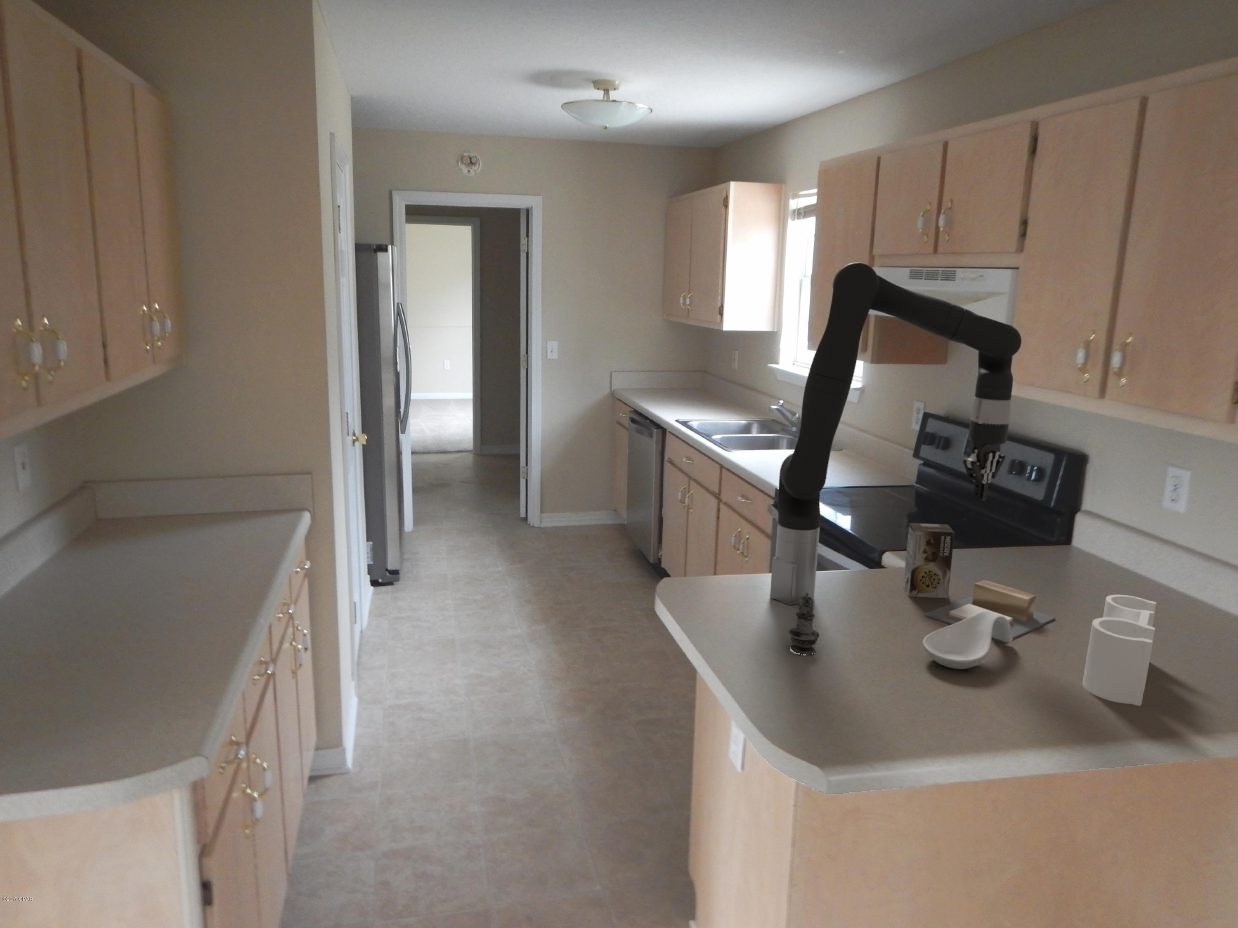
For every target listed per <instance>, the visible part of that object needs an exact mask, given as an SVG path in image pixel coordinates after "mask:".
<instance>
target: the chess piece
mask: <svg viewBox="0 0 1238 928" xmlns="http://www.w3.org/2000/svg"><path fill="white" fill-rule="evenodd" d="M805 595H806V596H804V597H801V598H800V600H799V604H798V611H797V612H796V613H795V615H796V617H797V618H796V625H795V627H792V628H791V629H789V630H788V634H789V639H790V641H791V642H792V645H790V646H791V649H792V650H793V651H794V652H796V653H800V655H801V654H802V655H803V654H806V655H812V653H813V654H814V653H816V654H817V649H816V648H814V647H813V646H815V644H816V643H817V642H818V638H819V637H820V633H819V632H818V631H817V630H815V629H814V628H813V623H814V621H813V620H814V618H815V617H816V616H815V614H814V604H815V601H814V600H813V599H812V598H810V597H809V596H808V595H809V594H808V593H806V594H805ZM800 655H799V656H800ZM814 655H815V654H814ZM812 656H813V655H812Z"/></svg>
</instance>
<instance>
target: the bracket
mask: <svg viewBox="0 0 1238 928" xmlns="http://www.w3.org/2000/svg"><path fill="white" fill-rule="evenodd" d="M1156 608H1157V602H1156V601H1153V600H1148V599H1145V598H1141V597H1139V596H1138V597H1137V596H1132V595H1127V594H1110V595H1108V596H1106V597H1105V604H1104V609H1103V616H1102V617H1097V618H1094V619H1093V620H1092V623H1091V629H1090V634H1089V641H1088V647H1087V653H1086V660H1085V666H1084V672H1083V678H1082V686H1083V688H1084V689H1085V690H1086V691H1087V692H1088V693H1090V694H1092V695H1093V696H1096V697H1098V698H1100V699H1104V700H1106V701H1111V702H1113V703H1119V704H1120V703H1121V704H1126V705H1127V704H1128V705H1129V704H1130V705H1131V704H1132V705H1134V706H1141V705H1142V703H1143V697H1144V691H1145V688H1146V684H1147V678H1148V672H1149V666H1150V661H1151V656H1152V655H1151V654H1152V651H1153V649H1152V648H1153V643H1154V639H1155V638H1154V637H1155V632H1156V628H1155V627H1154V625H1153V624H1154V620H1155V615H1156Z"/></svg>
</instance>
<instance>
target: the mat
mask: <svg viewBox="0 0 1238 928" xmlns="http://www.w3.org/2000/svg"><path fill="white" fill-rule="evenodd" d="M972 602H973V595H970V596H968V597H967V596H966V597H965V598H962V599H960V600H957V601H955V602H952V603H949V604H946V605H944V606H941V607H939V608H936V609H933V610H932V611H928V612H926V613H924V614H925V616H926V617H929V618H932V619H934V620H937V621H940V622H943V623H945V624H949V625H952V624H955V623H957V622H960V620H957V619H954V618H951V617H949V612H950V611H952V610H955V609H957V608H960V607H962V606H965V605H967V604H971V605H973V604H972ZM974 606H976V605H974ZM978 607H979V606H978ZM981 608H982V607H981ZM984 609H985V608H984ZM987 610H988V609H987ZM990 611H991V610H990ZM993 612H994V611H993ZM996 613H997V612H996ZM999 614H1000V613H999ZM1002 615H1003V614H1002ZM1005 616H1006V615H1005ZM1008 617H1009V616H1008ZM1011 618H1013V617H1011ZM1054 620H1056V616H1053V615H1050V614H1049V615H1048V614H1046V613H1042V612H1039V611H1036V610H1034V614H1033V617H1032V618H1030V619H1028V620H1026V621H1022V620H1019V619H1016V618H1013V619H1012V623H1011V624H1010V626H1011V630H1012V640H1015V639H1016V638H1019V637H1020V636H1023V635H1025V634H1027V633H1029V632H1031V631H1033V630H1035V629H1037V628H1041V626H1044V625H1046V624H1047V623H1050V622H1052V621H1054ZM991 640H994V641H996V642H999V643H1002V644H1006V643H1007V642H1005V641H1002V640H999V639H996V638H994V637H991Z"/></svg>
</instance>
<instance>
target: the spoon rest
mask: <svg viewBox="0 0 1238 928" xmlns="http://www.w3.org/2000/svg"><path fill="white" fill-rule="evenodd" d="M991 637H994V638H996V639H999V640H1002V641H1005V642H1006V643H1011V642H1013V639H1012V630H1011V626H1010V624H1009V622H1008V620H1007V619H1006V618H1005V617H1003V616H997V615H995V614H993V613H991V612H988V611H983V612H980V613H977V614H975V615H973V616H971V617H969V618H966V619H964V620H962V621H960V622H957V623H955V624H952V625H951V624H949V625H947V626H945V627H942V628H940V629H937V630H935V631H933V632H930V633H929V634H927V635H926V636H925V637H924V638H923V640H922V646H923V649H924V651H925V652H926V654H927V655H928V656H929V657H930V658H931V659H932V660H933V661H934V662H935V663H937V664H940V665H941V666H944V667H947V668H950V669H953V670H966V669H970V668H974V667H975V666H977V665H979V664H981V663H982V662H983V661H984V660H985V659H986V657H987V656H988V654H989V652H990V650H991V645H992V639H991Z"/></svg>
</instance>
